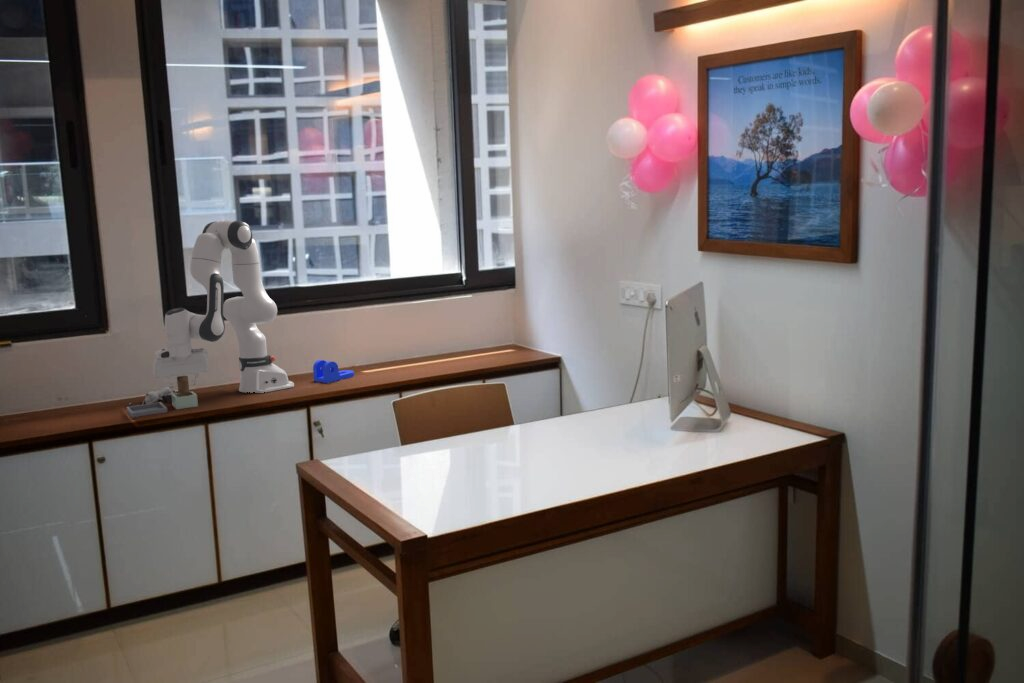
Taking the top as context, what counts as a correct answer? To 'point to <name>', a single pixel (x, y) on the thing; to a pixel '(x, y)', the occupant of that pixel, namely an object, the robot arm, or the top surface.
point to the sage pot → (184, 400)
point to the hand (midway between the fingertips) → (182, 386)
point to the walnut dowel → (183, 386)
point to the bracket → (329, 372)
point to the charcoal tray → (146, 409)
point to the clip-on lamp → (158, 396)
